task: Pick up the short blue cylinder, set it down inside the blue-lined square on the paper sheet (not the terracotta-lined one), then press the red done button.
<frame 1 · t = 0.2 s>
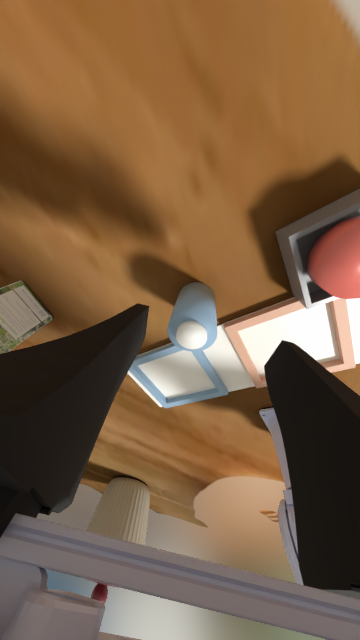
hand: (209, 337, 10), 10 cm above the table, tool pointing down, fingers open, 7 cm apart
blue cylinder: (196, 299, 19), on the table
sheet: (226, 361, 23), on the table
syrup box: (26, 304, 23), on the table
canister: (131, 482, 57), on the table
button: (355, 258, 12), point 4 cm above the table, slide at 0.0 cm
button base: (325, 247, 15), on the table
region terracotta: (288, 343, 20), resting on sheet
region blue: (177, 375, 26), resting on sheet
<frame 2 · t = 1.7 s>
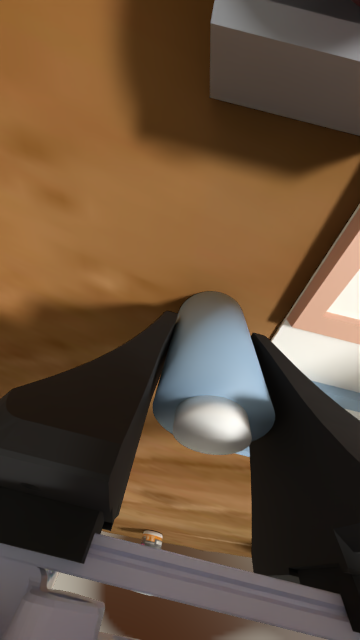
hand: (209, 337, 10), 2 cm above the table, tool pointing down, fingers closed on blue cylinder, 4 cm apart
blue cylinder: (209, 321, 11), on the table, touching gripper
sheet: (356, 365, 11), on the table
pill bottle: (153, 531, 52), on the table
region blue: (289, 424, 15), resting on sheet
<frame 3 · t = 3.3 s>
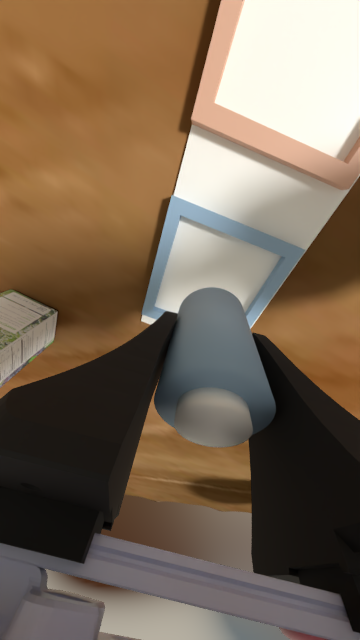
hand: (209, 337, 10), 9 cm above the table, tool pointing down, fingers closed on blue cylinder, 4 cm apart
blue cylinder: (210, 317, 11), point 7 cm above the table, touching gripper
sheet: (255, 194, 13), on the table
syrup box: (36, 315, 23), on the table
region terracotta: (334, 18, 9), resting on sheet
region blue: (210, 284, 17), resting on sheet
when the fingers open (3 cm above the table, at t = 4.9 s): blue cylinder stays where it is, resting on sheet.
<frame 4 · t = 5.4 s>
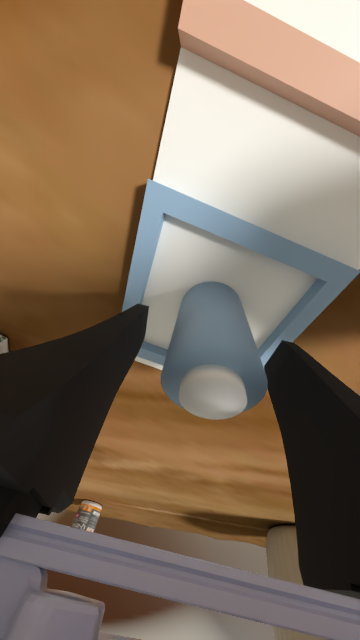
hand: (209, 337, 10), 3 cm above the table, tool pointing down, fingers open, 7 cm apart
blue cylinder: (210, 310, 12), resting on sheet
sheet: (285, 180, 8), on the table
canister: (298, 530, 37), on the table
pill bottle: (93, 502, 49), on the table
region blue: (209, 312, 12), resting on sheet
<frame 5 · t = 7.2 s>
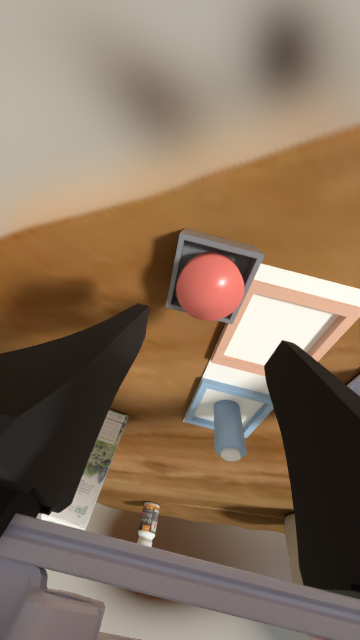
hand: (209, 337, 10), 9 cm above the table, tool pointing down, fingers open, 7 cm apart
blue cylinder: (226, 407, 28), resting on sheet
sheet: (247, 377, 24), on the table
syrup box: (113, 415, 35), on the table
canister: (307, 516, 51), on the table
button: (209, 287, 14), point 4 cm above the table, slide at 0.0 cm
button base: (209, 272, 17), on the table
region terracotta: (273, 336, 20), resting on sheet
pill bottle: (152, 503, 65), on the table
region blue: (226, 408, 28), resting on sheet
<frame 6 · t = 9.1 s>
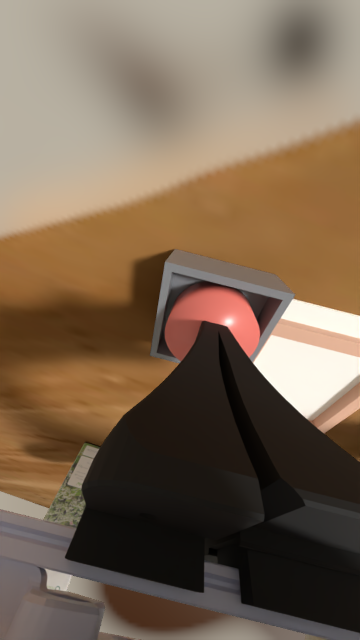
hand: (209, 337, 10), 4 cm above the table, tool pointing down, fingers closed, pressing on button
sheet: (257, 423, 20), on the table
syrup box: (100, 451, 31), on the table
button: (210, 328, 10), point 3 cm above the table, slide at 0.9 cm, touching gripper
button base: (209, 306, 13), on the table
region terracotta: (293, 382, 15), resting on sheet
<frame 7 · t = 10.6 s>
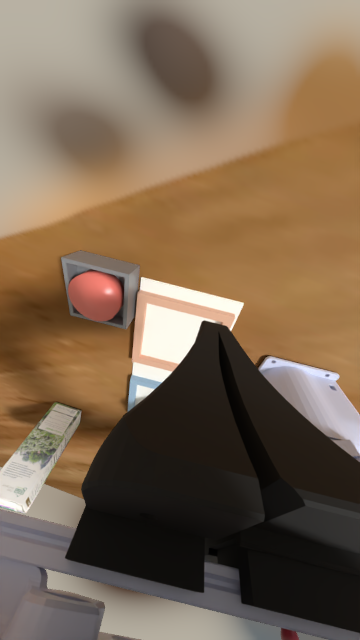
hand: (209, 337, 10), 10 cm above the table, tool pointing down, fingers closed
sheet: (169, 374, 27), on the table
syrup box: (69, 410, 38), on the table
button: (98, 295, 18), point 3 cm above the table, slide at 1.0 cm
button base: (110, 285, 21), on the table
region terracotta: (177, 338, 23), resting on sheet
region blue: (160, 402, 31), resting on sheet
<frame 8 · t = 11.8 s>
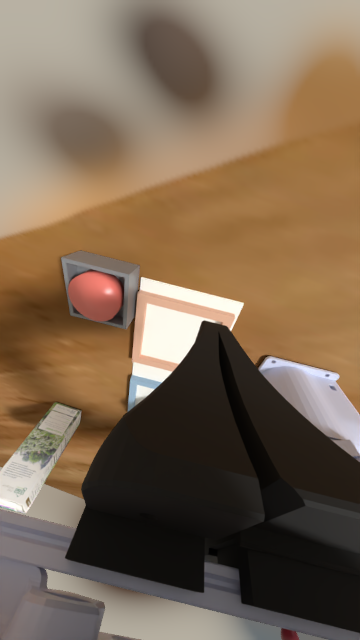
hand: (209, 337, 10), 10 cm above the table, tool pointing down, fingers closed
sheet: (169, 374, 27), on the table
syrup box: (69, 410, 38), on the table
button: (98, 295, 18), point 3 cm above the table, slide at 1.0 cm
button base: (110, 285, 21), on the table
region terracotta: (177, 338, 23), resting on sheet
region blue: (160, 402, 31), resting on sheet
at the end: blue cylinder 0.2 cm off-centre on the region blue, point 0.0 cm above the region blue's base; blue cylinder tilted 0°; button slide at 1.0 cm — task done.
